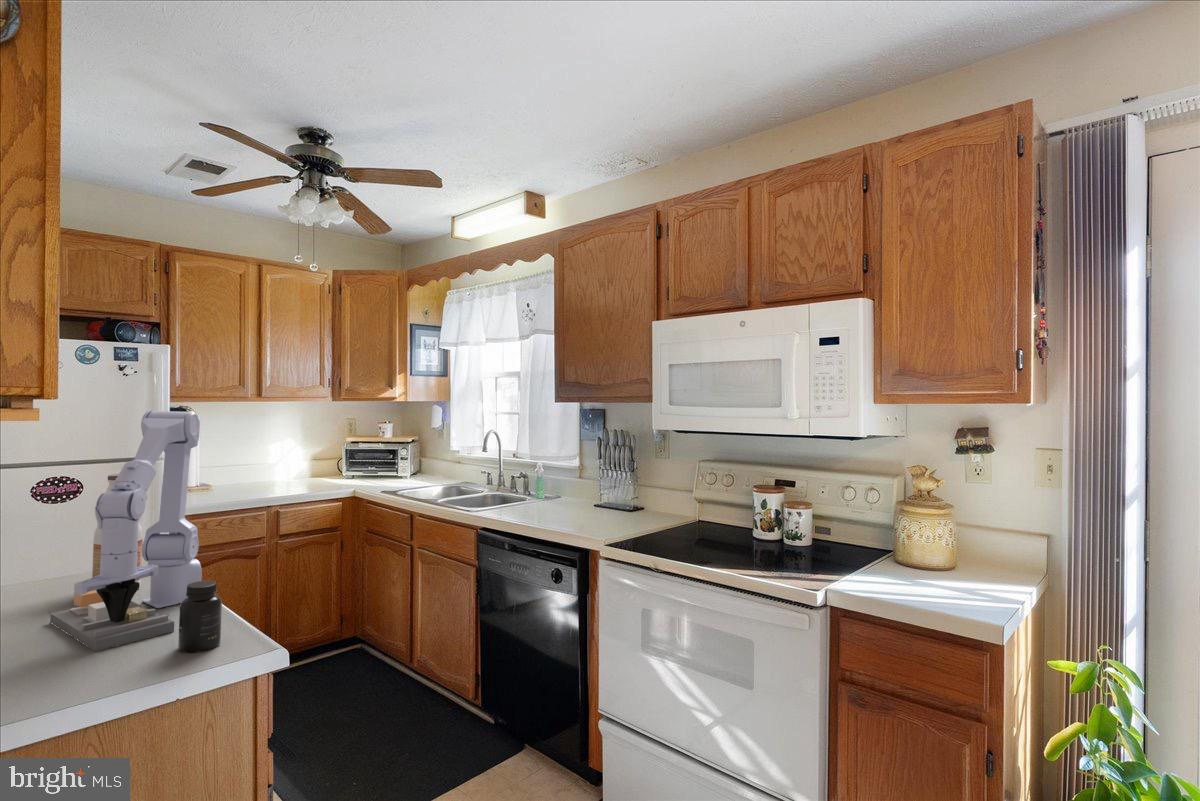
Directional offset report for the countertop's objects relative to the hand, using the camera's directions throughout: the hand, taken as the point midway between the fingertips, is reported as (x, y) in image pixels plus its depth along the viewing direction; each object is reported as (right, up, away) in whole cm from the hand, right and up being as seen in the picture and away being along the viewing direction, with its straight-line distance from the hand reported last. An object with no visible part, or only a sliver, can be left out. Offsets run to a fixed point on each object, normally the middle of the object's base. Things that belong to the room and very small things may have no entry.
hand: (117, 621), depth 122 cm
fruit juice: (-22, -3, +28) cm, 36 cm away
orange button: (-13, 0, +9) cm, 16 cm away
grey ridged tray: (-5, -3, +5) cm, 8 cm away
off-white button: (-6, -1, +5) cm, 8 cm away
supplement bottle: (+18, -4, -3) cm, 19 cm away
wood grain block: (+2, -1, +2) cm, 3 cm away
